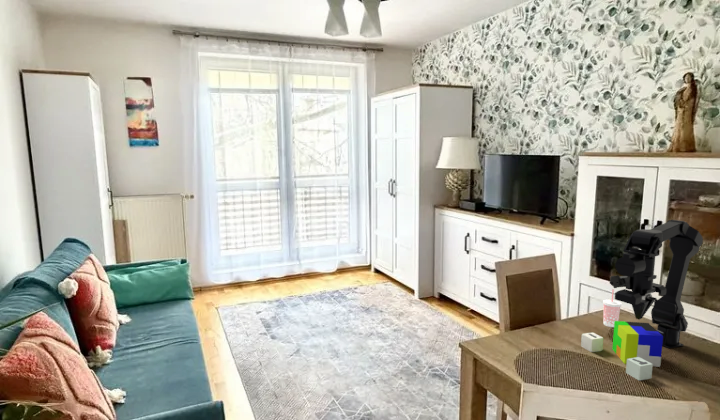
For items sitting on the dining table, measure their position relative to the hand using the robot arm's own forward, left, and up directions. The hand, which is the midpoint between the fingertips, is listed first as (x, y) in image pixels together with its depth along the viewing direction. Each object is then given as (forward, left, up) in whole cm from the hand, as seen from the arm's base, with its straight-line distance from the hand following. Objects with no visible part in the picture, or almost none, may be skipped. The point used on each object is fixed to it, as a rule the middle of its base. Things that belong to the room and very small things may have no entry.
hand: (638, 318), depth 135 cm
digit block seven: (+9, +9, -13) cm, 18 cm away
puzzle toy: (0, 0, -13) cm, 13 cm away
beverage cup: (-13, -23, -13) cm, 29 cm away
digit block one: (+9, -9, -13) cm, 18 cm away
